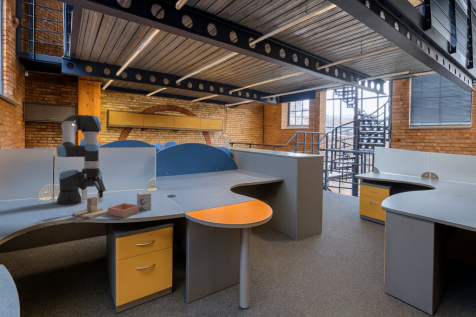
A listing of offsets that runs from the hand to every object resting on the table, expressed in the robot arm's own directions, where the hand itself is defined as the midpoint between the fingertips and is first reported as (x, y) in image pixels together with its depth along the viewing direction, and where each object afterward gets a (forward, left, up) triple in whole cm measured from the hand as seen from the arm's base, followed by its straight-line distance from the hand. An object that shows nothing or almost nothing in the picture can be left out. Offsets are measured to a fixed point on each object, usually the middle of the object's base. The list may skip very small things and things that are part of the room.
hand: (92, 201), depth 161 cm
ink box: (+20, +24, -9) cm, 33 cm away
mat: (0, 0, -9) cm, 9 cm away
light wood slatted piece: (0, 0, -8) cm, 8 cm away
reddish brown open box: (+16, +10, -9) cm, 21 cm away
